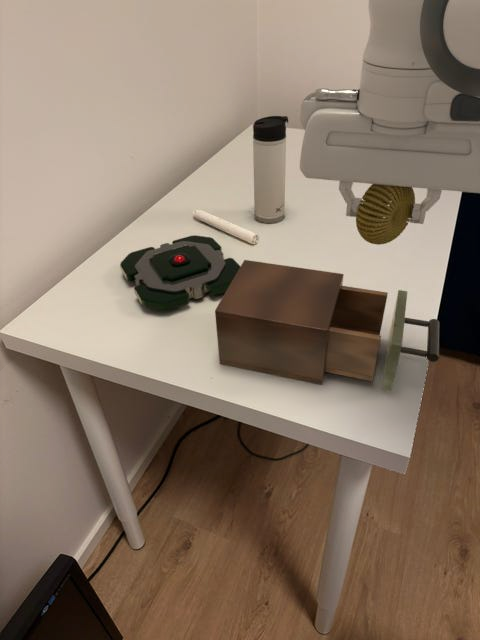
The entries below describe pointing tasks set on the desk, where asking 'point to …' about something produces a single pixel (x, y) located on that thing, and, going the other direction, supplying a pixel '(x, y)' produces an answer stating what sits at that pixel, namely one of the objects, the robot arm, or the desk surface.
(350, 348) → the drawer
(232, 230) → the white rod
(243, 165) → the desk surface
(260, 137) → the travel mug
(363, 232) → the sculpture
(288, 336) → the cabinet
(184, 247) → the flat green button pad
